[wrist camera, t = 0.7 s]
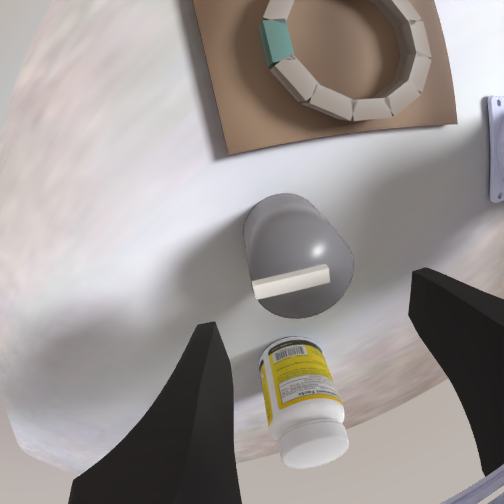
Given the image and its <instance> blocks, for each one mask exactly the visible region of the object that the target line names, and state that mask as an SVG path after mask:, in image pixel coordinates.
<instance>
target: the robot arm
mask: <svg viewBox="0 0 504 504" xmlns="http://www.w3.org/2000/svg"><path fill="white" fill-rule="evenodd" d="M488 111H489V124H490V148H491V172H490V201H492V202H494V203H497V202H501V201H504V97H501V96H489V97H488ZM408 316H409V317H410V319H411V321H412V323H413V325H414V327H415V329H416V331H417V333H418V334H419V336H420V338H421V339H422V341H423V342H424V343H425V345H426V346H427V348H428V349H429V351H430V352H431V353H432V355H433V356H434V358H435V359H436V360H437V362H438V363H439V365H440V366H441V368H442V369H443V371H444V372H445V373H446V375H447V376H448V378H449V379H450V381H451V383H452V385H453V387H454V389H455V391H456V392H457V395H458V397H459V399H460V401H461V403H462V406H463V408H464V410H465V413H466V415H467V418H468V420H469V423H470V425H471V429H472V431H473V435H474V438H475V441H476V444H477V448H478V452H479V457H480V460H481V466H482V471H483V473H484V475H485V478H483V479H482V480H480V481H479V482H477V483H475V484H474V485H472V486H470V487H469V488H467V489H466V490H464V491H462V492H460V493H459V494H457V495H455V496H453V497H452V498H450V499H448V500H446V501H444V502H442V503H440V504H477V503H478V502H480V501H481V500H483V499H484V498H486V497H487V496H489V495H490V494H492V493H493V492H495V491H496V490H497V489H499V488H500V487H502V486H503V485H504V299H501V298H498V297H496V296H493V295H491V294H488V293H486V292H483V291H481V290H478V289H476V288H474V287H471V286H469V285H467V284H465V283H462V282H460V281H458V280H456V279H453V278H451V277H449V276H447V275H444V274H442V273H440V272H437V271H435V270H432V269H429V268H426V267H425V268H422V269H419V270H416V271H412V284H411V294H410V304H409V313H408ZM68 504H242V501H241V496H240V489H239V483H238V476H237V469H236V461H235V454H234V403H233V380H232V372H231V364H230V360H229V358H228V355H227V353H226V350H225V347H224V345H223V342H222V339H221V336H220V334H219V331H218V328H217V325H216V323H215V322H210V323H205V324H199V325H197V327H196V328H195V330H194V332H193V334H192V337H191V339H190V341H189V343H188V345H187V347H186V349H185V351H184V353H183V355H182V357H181V359H180V360H179V362H178V364H177V366H176V368H175V370H174V371H173V373H172V375H171V377H170V378H169V380H168V381H167V383H166V385H165V386H164V388H163V390H162V391H161V393H160V394H159V396H158V397H157V399H156V400H155V402H154V403H153V404H152V406H151V407H150V408H149V410H148V411H147V412H146V414H145V415H144V416H143V418H142V419H141V420H140V421H139V422H138V423H137V425H136V426H135V427H134V428H133V429H132V430H131V431H130V432H129V433H128V435H127V436H126V437H125V438H124V439H123V440H122V441H121V442H120V443H119V444H118V445H117V446H116V447H115V448H114V449H112V450H111V451H110V452H109V453H108V454H107V455H106V456H105V457H103V458H102V459H101V460H100V461H99V462H97V463H96V464H95V465H93V466H92V467H91V468H89V469H88V470H87V471H85V472H84V473H83V474H81V475H80V476H78V477H77V478H75V479H74V480H73V483H72V487H71V492H70V497H69V502H68ZM488 504H504V493H502V494H501V495H499V496H498V497H497V498H495V499H494V500H492V501H491V502H490V503H488Z"/></svg>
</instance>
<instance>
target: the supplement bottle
mask: <svg viewBox="0 0 504 504" xmlns="http://www.w3.org/2000/svg"><path fill="white" fill-rule="evenodd" d="M259 370H260V376H261V382H262V388H263V394H264V400H265V406H266V412H267V419H268V426H269V430H270V433H271V435H272V436H273V438H274V439H275V440H277V441H278V447H279V451H280V456H281V460H282V463H283V464H284V465H286V466H288V467H292V468H311V467H315V466H319V465H323V464H326V463H328V462H331V461H333V460H335V459H337V458H338V457H340V456H341V455H342V454H343V453H345V452H346V450H347V449H348V447H349V441H348V438H347V434H346V430H345V427H344V426H343V424H342V422H343V420H344V409H343V405H342V403H341V400H340V397H339V395H338V392H337V390H336V387H335V384H334V382H333V379H332V377H331V374H330V371H329V369H328V366H327V364H326V361H325V359H324V356H323V354H322V351H321V349H320V347H319V346H318V345H317V344H316V343H315V342H314V341H312V340H310V339H307V338H304V337H288V338H284V339H281V340H279V341H276V342H275V343H273V344H271V345H270V346H269V347H268V348H267V349H266V350H265V351H264V352H263V354H262V356H261V358H260V361H259Z"/></svg>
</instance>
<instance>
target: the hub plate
mask: <svg viewBox="0 0 504 504" xmlns="http://www.w3.org/2000/svg"><path fill="white" fill-rule="evenodd" d="M193 4H194V8H195V12H196V17H197V21H198V25H199V29H200V34H201V38H202V42H203V47H204V51H205V55H206V59H207V64H208V68H209V72H210V77H211V81H212V85H213V90H214V94H215V98H216V102H217V107H218V111H219V115H220V120H221V124H222V128H223V132H224V137H225V141H226V145H227V150H228V154H229V155H232V154H236V153H240V152H245V151H250V150H254V149H259V148H264V147H269V146H274V145H279V144H285V143H290V142H296V141H301V140H307V139H313V138H319V137H326V136H333V135H340V134H347V133H355V132H363V131H371V130H380V129H390V128H401V127H413V126H428V125H448V124H457V114H456V104H455V96H454V89H453V82H452V75H451V69H450V64H449V59H448V54H447V49H446V44H445V40H444V35H443V31H442V27H441V23H440V20H439V16H438V13H437V9H436V6H435V2H434V0H193Z"/></svg>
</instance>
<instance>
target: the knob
mask: <svg viewBox="0 0 504 504" xmlns="http://www.w3.org/2000/svg"><path fill="white" fill-rule="evenodd" d="M244 241H245V247H246V253H247V259H248V265H249V272H250V278H251V284H252V289H253V292H254V295H255V298H256V300H258V301H259V303H260V304H261V305H262V306H263V307H264V308H265V309H267V310H268V311H270V312H271V313H273V314H275V315H278V316H281V317H285V318H296V319H298V318H306V317H311V316H314V315H317V314H319V313H322V312H323V311H325V310H327V309H329V308H330V307H331V306H333V305H334V304H335V303H336V302H337V301H338V300H339V299H340V298H341V297H342V296H343V295H344V293H345V292H346V290H347V288H348V287H349V284H350V282H351V279H352V276H353V269H354V263H353V257H352V253H351V251H350V249H349V247H348V245H347V244H346V242H345V241H344V240H343V239H342V238H341V236H340V235H339V234H338V233H337V232H336V231H335V230H334V228H333V227H332V226H331V225H330V224H329V223H328V222H327V220H326V219H325V218H324V217H323V216H322V215H321V214H320V213H319V211H318V210H317V209H316V208H315V207H314V206H313V205H312V204H311V203H310V202H309V201H308V200H306V199H304V198H303V197H300V196H298V195H294V194H288V193H282V194H276V195H272V196H269V197H267V198H265V199H263V200H262V201H260V202H259V203H258V204H257V205H256V206H255V207H254V208H253V209H252V210H251V211H250V213H249V215H248V216H247V219H246V221H245V225H244Z"/></svg>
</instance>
